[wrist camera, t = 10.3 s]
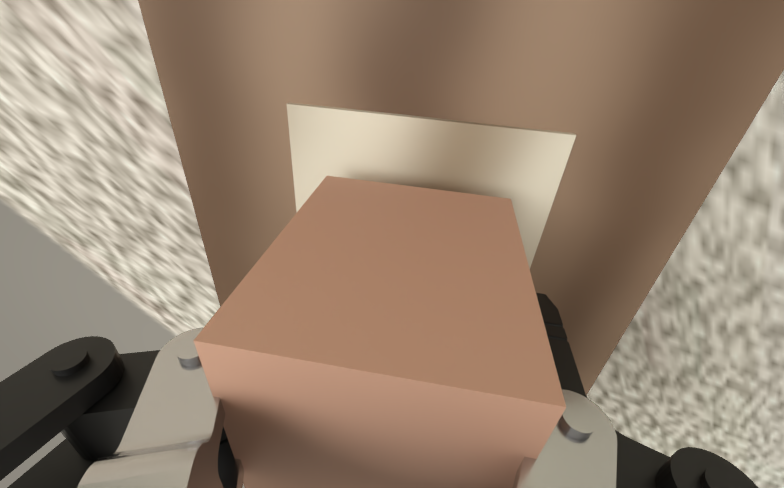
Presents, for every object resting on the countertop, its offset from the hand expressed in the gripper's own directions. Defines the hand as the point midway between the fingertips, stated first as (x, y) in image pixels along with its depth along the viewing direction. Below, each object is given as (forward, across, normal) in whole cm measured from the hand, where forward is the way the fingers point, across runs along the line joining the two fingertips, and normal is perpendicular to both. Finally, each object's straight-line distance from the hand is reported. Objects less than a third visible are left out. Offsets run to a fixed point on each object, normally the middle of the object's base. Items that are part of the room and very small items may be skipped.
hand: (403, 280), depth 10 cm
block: (+1, 0, 0) cm, 1 cm away
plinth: (+5, 0, 0) cm, 5 cm away
